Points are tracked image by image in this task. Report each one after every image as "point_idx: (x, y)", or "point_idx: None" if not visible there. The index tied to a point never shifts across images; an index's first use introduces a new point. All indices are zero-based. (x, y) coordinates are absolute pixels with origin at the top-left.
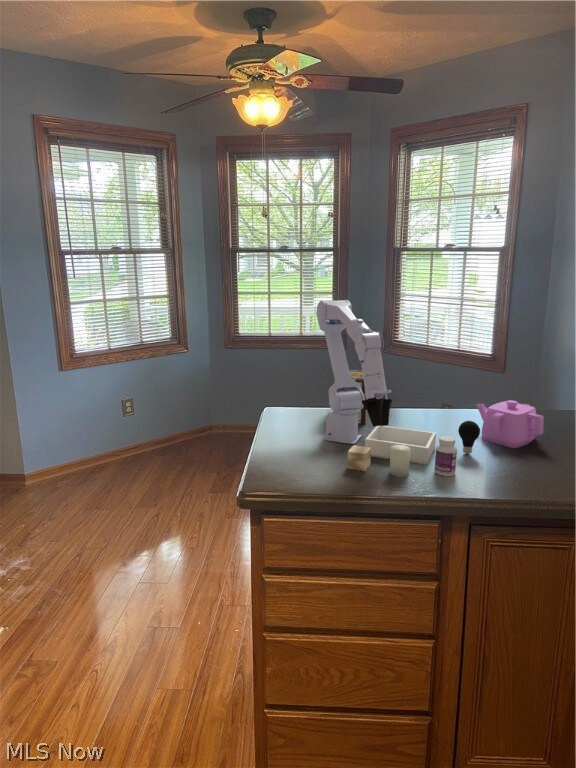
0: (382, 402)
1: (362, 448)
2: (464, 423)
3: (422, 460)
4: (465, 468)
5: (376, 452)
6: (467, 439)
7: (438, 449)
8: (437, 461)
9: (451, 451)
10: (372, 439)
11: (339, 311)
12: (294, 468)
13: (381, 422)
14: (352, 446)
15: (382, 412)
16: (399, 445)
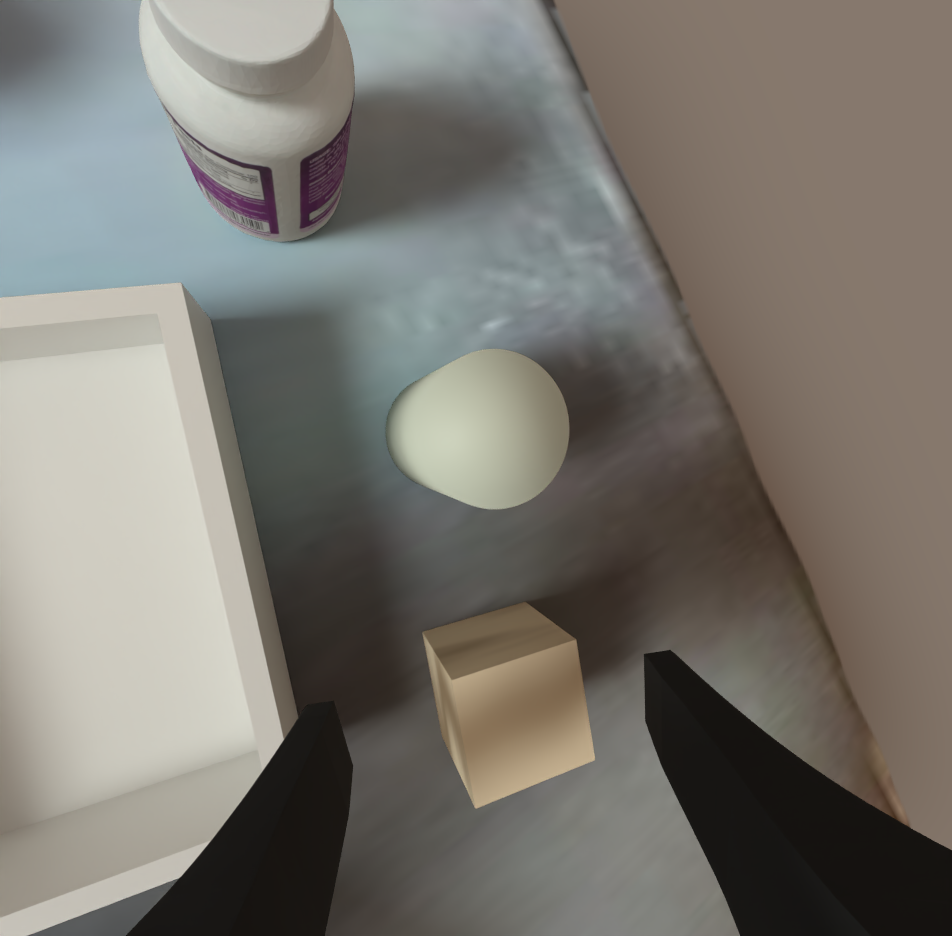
0: (896, 906)
1: (497, 719)
2: None
3: (212, 348)
4: (84, 40)
5: (286, 684)
6: None
7: (338, 120)
8: (337, 176)
9: None
10: None
11: None
12: (677, 892)
13: (662, 670)
14: (501, 796)
15: (291, 920)
16: (441, 463)
